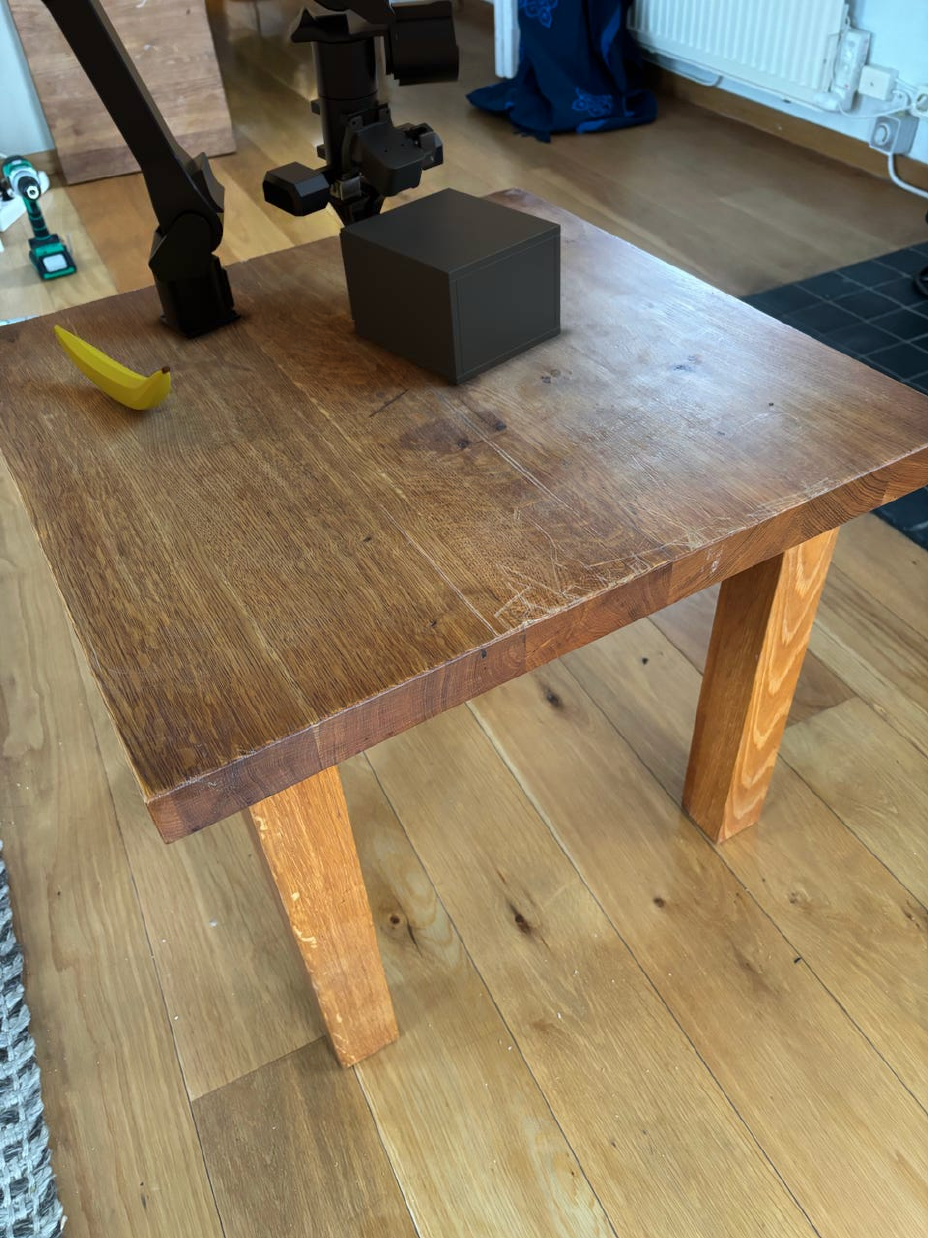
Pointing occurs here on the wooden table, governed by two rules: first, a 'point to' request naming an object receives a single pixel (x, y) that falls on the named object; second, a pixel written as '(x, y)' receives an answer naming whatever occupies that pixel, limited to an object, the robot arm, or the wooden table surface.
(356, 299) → the cabinet
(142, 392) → the banana
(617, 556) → the wooden table surface
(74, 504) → the wooden table surface
